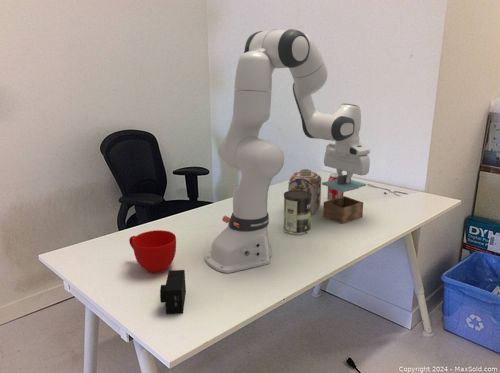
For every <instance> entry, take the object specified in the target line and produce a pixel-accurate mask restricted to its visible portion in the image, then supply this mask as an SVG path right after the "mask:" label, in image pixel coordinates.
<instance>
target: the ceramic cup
mask: <svg viewBox="0 0 500 373" xmlns="http://www.w3.org/2000/svg"><path fill="white" fill-rule="evenodd" d="M129 244H130V247H131V249H132V250H133V253H134V256H135V259H136V262H137V263H138V265H139V266H140V267H141V268H142V269H143V270H145V271H146V272H147V273H149V274H160V273H163V272H165V271H166V270H167V269H168V268H169V266H171V265H172V263H173V262H174V260H175V256H176V252H177V237H176V234H175V233H173V232H171V231H169V230H158V229H157V230H155V229H154V230H149V231H144V232H141V233H139V234H137V235H132V236H130V237H129Z"/></svg>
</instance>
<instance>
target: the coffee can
mask: <svg viewBox="0 0 500 373" xmlns="http://www.w3.org/2000/svg"><path fill="white" fill-rule="evenodd" d="M283 197H284V199H283V229H282V230H283V231H284V232H286V233H287V234H291V235H305V234H308V231H310V230H311V218H312V215H311V197H312V194H311V193H310V192H307V191H303V190H291V191H288V190H287V191H285V192H284V193H283Z"/></svg>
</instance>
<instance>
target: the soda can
mask: <svg viewBox="0 0 500 373" xmlns="http://www.w3.org/2000/svg"><path fill="white" fill-rule="evenodd" d="M336 179H338V174H337V173H331V174H330V175H329V177H328V181H332V180H336ZM344 193H345V192H340V191H337V190H334V189H331V188H328V187H327V201H329V200H332V199H336V198H339V197H343V196H344Z"/></svg>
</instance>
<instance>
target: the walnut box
mask: <svg viewBox="0 0 500 373" xmlns="http://www.w3.org/2000/svg"><path fill="white" fill-rule="evenodd" d="M322 210H323V211H322V217H323V218H325V219H329V220H330V221H333V222H335V223H338V224H341V225H344V224H347V223H350V222H352V221H355V220H358V219H361V218H363V213H364V212H363V211H364V202H363V201H360V200H358V199H355V198H354V199H353V198H351V197H348V196H346V195H343V197H339V198H336V199H332V200H325V201H323V208H322Z"/></svg>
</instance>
